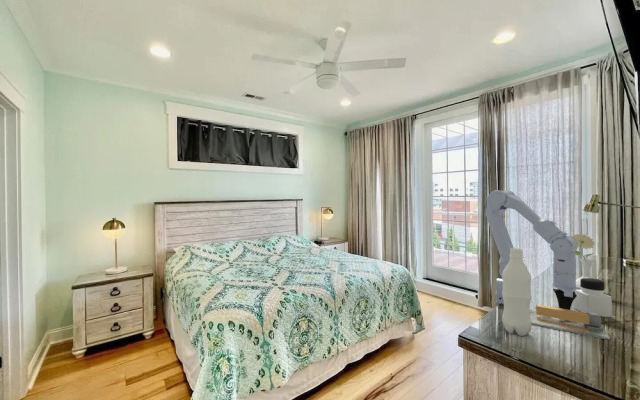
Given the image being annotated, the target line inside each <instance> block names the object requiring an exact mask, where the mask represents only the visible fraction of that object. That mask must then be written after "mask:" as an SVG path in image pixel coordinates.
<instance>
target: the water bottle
mask: <svg viewBox="0 0 640 400" xmlns="http://www.w3.org/2000/svg"><path fill="white" fill-rule="evenodd" d="M509 257H510V261H509V263H508V264H507V266H506V267H505V269H504V270H503V273H502V276H503V291H502V296H503V300H504V304H503V312H502V315H501V320H502V324H503V327H504V329H505V330H506V332H507V333H509V334H513V333H514V331H515V333H516V334H517V336H519V337H524V336H526V335H529V334H530V333H531V331H532V324H531V319H530V311H529V309H531V307H530V306H531V301H532V290H531V289H532V287H531V286H532V283H531V282H532V276H531V273H530V272H529V271H530V270H529V269H528V267H527V266H526V264H525V262H524V259H525V256H524V254H523V249H521V248H515V247H514V248H511V249H510V255H509ZM526 267H527V268H526Z"/></svg>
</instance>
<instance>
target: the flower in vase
mask: <svg viewBox="0 0 640 400" xmlns="http://www.w3.org/2000/svg"><path fill="white" fill-rule="evenodd" d="M571 237H573V238H574V239H575V240H576V241H577V243H578V248H579V250H576V251H575V256H582V257H583V258H578V260H579V261H580V262H581V264H582V270H583V271H582V272H583V273H582V276H581V277H579V278H576V286H579V287H580V279H581V278H593V277H592V276H591V275H592V274H591V268H592V264H593V263H595V260H594V259H589V258H586V257H589V256H592V255H593V253H589V254H586V255H583V254H582V251H581V250H582V249H586V250H589V249H594V246H595V241H593V239H592V238H591V237H590V236H587V235H586V234H582V233H577V234H573V235H572V236H571ZM581 248H582V249H581ZM573 253H574V252H573ZM605 292H606V289H605V287H604V293H605Z"/></svg>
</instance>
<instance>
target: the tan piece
mask: <svg viewBox="0 0 640 400" xmlns="http://www.w3.org/2000/svg"><path fill="white" fill-rule="evenodd" d="M535 310H536V314H537V315H541V316H547V317H552V318H558V319H563V320H569V321H574V322H580V323H585V324H588V325H591V326H595V327H601V326H602V317H601V315H599V314H597V313H592V312H587V313H586V312H581V311H579V310H573V309H570V310H567V309H561V308H559V307H554V306H549V305H543V304H538V303H536V304H535Z"/></svg>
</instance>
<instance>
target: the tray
mask: <svg viewBox="0 0 640 400" xmlns="http://www.w3.org/2000/svg"><path fill="white" fill-rule="evenodd" d="M529 311H530V319H531V326H538V327H542V328H543V327H544V328H548V329H552V330H553V329H554V330H558V331H562V332H568V333H572V334H577V335H583V336H587V337H593V338H597V339H604V340H608V341H610V340H611V337H610V336H609V334H608V333H607V332H606V331H605V327H604V326H602V325H601V327H595V326H591V325H588V324H585V323H580V322H574V321H569V320H563V319H558V318H552V317H547V316H541V315H537V314H536V309H533V308H530V309H529Z"/></svg>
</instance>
